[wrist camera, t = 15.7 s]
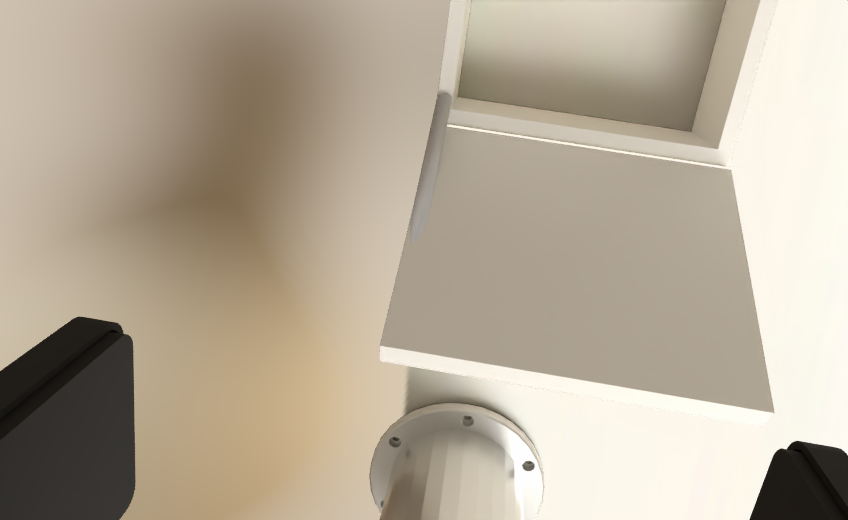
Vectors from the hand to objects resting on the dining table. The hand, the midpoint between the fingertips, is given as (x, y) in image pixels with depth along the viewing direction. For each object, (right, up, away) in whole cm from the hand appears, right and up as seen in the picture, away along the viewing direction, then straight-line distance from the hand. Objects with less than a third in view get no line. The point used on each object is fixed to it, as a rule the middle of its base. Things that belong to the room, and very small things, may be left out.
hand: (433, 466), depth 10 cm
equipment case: (+9, +14, +30) cm, 35 cm away
